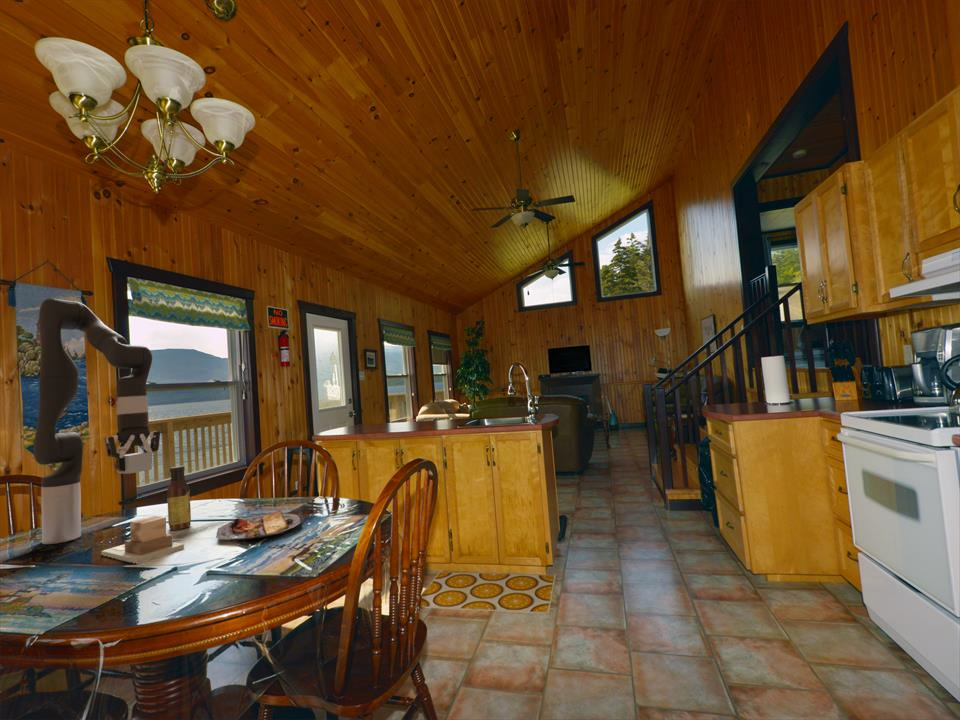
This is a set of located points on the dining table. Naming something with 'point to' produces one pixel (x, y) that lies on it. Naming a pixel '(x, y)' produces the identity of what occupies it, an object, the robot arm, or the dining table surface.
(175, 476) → the sauce bottle
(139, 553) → the base brick
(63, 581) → the dining table surface
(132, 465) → the grey brick
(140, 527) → the oak brick
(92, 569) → the dining table surface
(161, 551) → the build board
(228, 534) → the food plate
